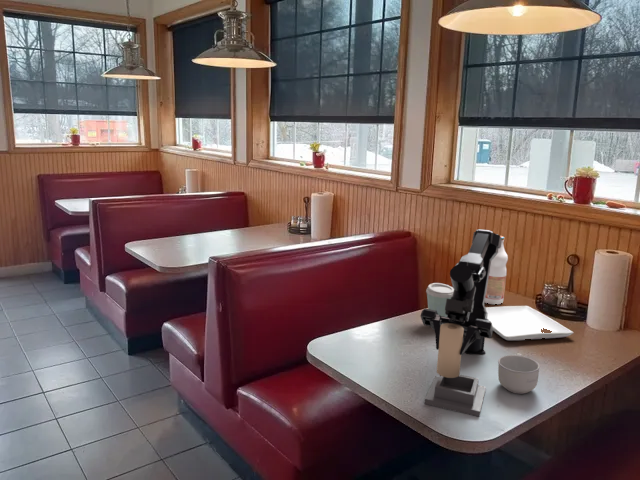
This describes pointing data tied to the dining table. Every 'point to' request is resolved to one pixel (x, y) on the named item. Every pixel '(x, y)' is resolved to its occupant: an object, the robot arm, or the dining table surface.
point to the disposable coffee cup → (438, 297)
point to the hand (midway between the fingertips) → (448, 351)
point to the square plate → (523, 323)
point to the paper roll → (450, 350)
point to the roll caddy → (457, 394)
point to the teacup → (518, 373)
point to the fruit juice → (497, 277)
